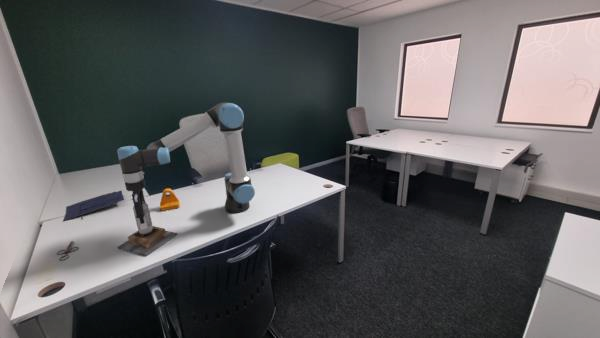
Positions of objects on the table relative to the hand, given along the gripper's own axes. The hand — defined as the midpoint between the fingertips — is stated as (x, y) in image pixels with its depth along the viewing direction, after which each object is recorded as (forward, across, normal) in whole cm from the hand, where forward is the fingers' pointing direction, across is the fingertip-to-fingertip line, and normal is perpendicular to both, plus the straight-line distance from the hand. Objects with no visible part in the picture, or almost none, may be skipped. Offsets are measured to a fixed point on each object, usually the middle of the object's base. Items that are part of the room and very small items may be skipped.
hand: (145, 225), depth 117 cm
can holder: (+9, 0, 0) cm, 9 cm away
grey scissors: (+10, +10, +33) cm, 36 cm away
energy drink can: (+4, 0, 0) cm, 4 cm away
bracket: (+9, +36, -9) cm, 38 cm away
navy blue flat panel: (+10, +60, +34) cm, 70 cm away
